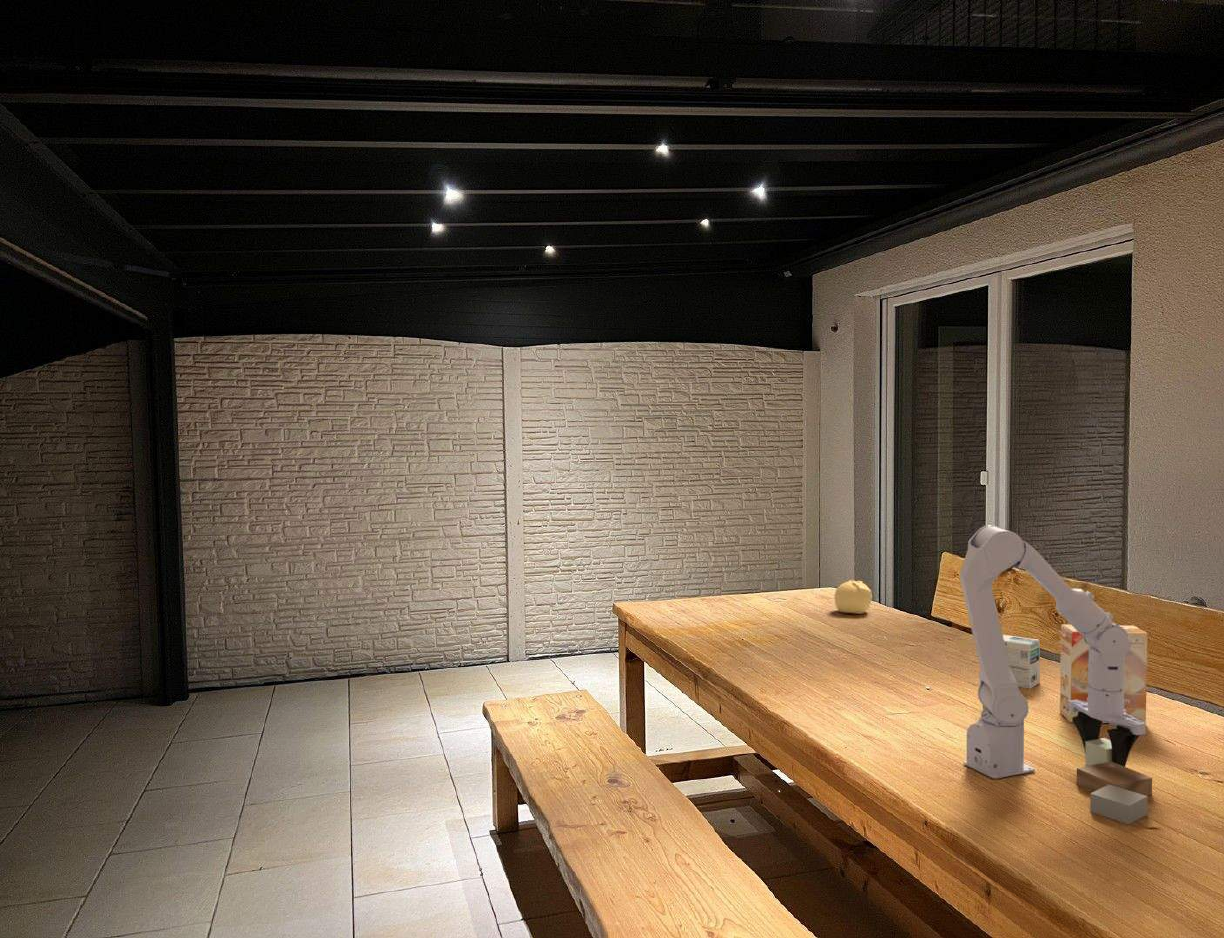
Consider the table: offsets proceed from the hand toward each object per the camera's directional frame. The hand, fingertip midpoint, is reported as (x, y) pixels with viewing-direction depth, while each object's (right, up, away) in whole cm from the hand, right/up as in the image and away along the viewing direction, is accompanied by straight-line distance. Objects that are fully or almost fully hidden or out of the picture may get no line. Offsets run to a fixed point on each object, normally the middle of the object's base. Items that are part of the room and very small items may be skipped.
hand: (1105, 761), depth 164 cm
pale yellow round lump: (-9, +5, +136) cm, 136 cm away
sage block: (0, -2, 0) cm, 2 cm away
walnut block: (-3, -2, -8) cm, 9 cm away
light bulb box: (+8, +1, +55) cm, 56 cm away
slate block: (-7, -3, -17) cm, 19 cm away
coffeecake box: (+14, 0, +28) cm, 31 cm away
